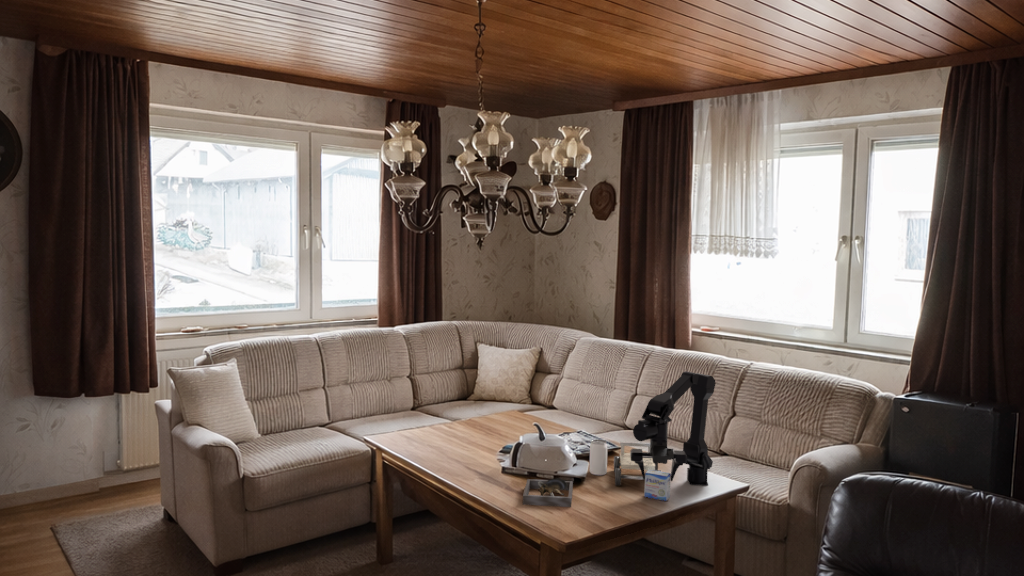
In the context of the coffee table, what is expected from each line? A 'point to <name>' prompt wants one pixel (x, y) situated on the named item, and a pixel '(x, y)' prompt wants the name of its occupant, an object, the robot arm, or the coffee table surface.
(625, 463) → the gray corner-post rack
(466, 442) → the coffee table surface
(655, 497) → the medicine box
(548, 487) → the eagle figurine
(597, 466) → the can
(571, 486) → the gray square tray
